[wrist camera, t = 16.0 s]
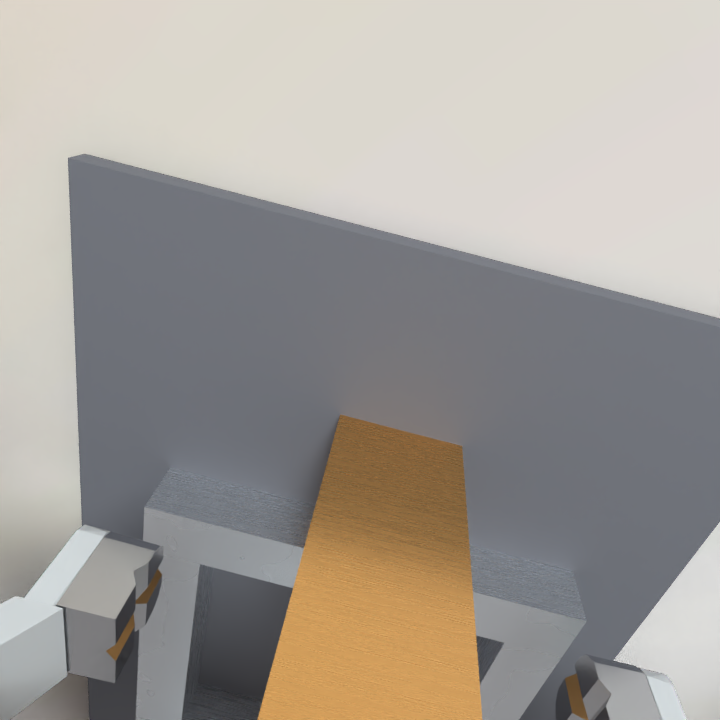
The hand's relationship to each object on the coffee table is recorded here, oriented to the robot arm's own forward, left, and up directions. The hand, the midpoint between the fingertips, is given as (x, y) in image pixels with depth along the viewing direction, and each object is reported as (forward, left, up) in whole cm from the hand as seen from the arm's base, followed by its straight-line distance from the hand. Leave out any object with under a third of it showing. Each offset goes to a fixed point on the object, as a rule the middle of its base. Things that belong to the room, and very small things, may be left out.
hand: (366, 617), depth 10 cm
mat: (-8, 0, -4) cm, 9 cm away
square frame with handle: (-5, 0, -4) cm, 7 cm away
